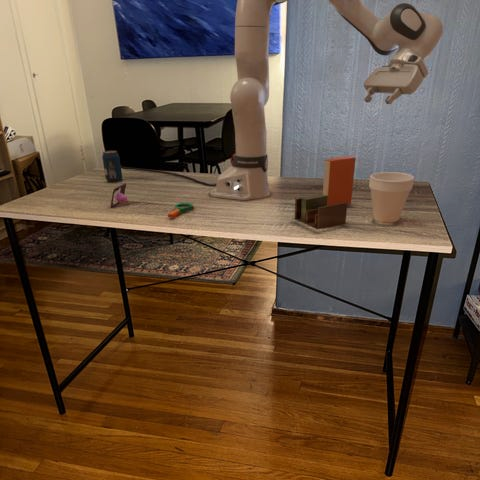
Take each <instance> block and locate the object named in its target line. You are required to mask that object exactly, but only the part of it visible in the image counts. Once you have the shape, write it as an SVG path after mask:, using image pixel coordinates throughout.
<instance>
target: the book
mask: <svg viewBox="0 0 480 480" xmlns="http://www.w3.org/2000/svg"><path fill="white" fill-rule="evenodd" d="M356 160H357V159H356V156H351V155H348V156H347V155H346V156H341V157H340V156H339V157H332V158H326V159H324V169H323V170H324V171H323V182H322V183H323V184H322V194H324V195H327V196H328V200H327V206H329V205H334V204H339V203H344V202H346V203H347V205H351V204H352V199H353V189H354V177H355V169H356Z"/></svg>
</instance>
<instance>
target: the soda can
mask: <svg viewBox="0 0 480 480" xmlns="http://www.w3.org/2000/svg"><path fill="white" fill-rule="evenodd" d="M101 158H102V164H103V170H104V176H105V180H106V181H107V182H108V183H114V184H115V183H120V182H122V180H123V172H122V168H121V166H122V165H121V160H120V159H121V158H120V155H119V153H118V151H117V150H105V151H103V152H102V157H101Z"/></svg>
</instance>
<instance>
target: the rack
mask: <svg viewBox="0 0 480 480" xmlns="http://www.w3.org/2000/svg"><path fill="white" fill-rule="evenodd" d="M327 200H328V196H327V195H324V194H323V193H320V194H315V195H309V196H308V195H307V196H303V197H298V198H295V199H294V218H293V220H296V221H298V222H299V223H302V224H304V225H307V226H309V227H311V228H313V229H316V230H319V229H324V228H329V227H333V226H339V225H343V224H347V210H348V204H347V203H346V202H344V203H339V204H334V205H329V206H327Z"/></svg>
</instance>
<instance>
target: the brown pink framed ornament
mask: <svg viewBox="0 0 480 480" xmlns="http://www.w3.org/2000/svg"><path fill="white" fill-rule="evenodd" d="M126 187H127V183H123V184H121V185H119V186H117V187H115V188H113V189H112V190H111V192H112V194H111V201H110V208H114V207H115V206H117V205H119V204H126V203H127V204H128V205H130V202H129V201H128V198H127V196H126V195H125V193H126ZM119 190H120V191H119ZM118 191H119V192H118ZM116 192H117V193H116ZM115 193H116V194H115ZM114 199H115V200H116V201H117V202H116V203H114Z"/></svg>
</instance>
